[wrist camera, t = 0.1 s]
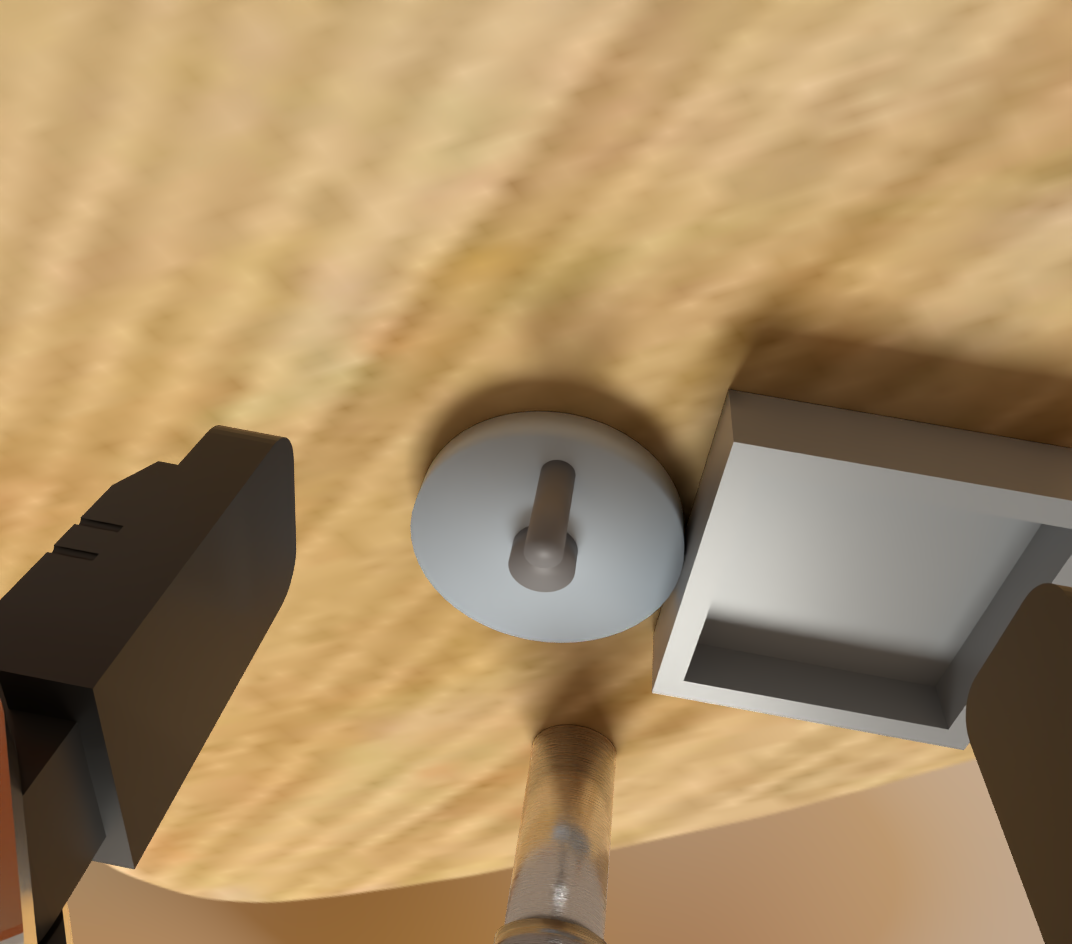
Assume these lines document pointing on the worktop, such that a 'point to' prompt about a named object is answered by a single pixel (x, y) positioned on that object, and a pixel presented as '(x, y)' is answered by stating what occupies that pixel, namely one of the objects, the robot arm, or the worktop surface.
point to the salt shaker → (563, 841)
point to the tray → (857, 566)
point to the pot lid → (549, 527)
